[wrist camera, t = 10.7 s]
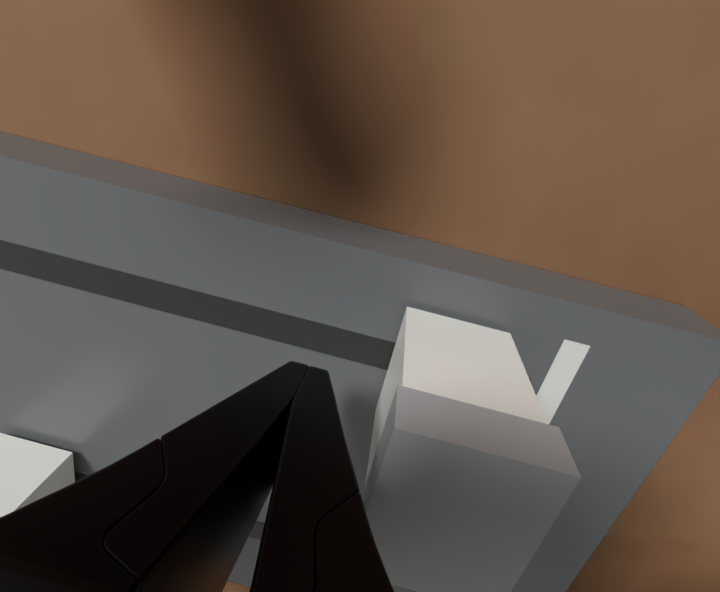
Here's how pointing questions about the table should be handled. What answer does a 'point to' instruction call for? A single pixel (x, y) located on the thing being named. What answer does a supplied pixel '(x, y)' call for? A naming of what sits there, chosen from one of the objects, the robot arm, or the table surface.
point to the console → (304, 328)
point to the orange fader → (31, 472)
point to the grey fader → (461, 460)
